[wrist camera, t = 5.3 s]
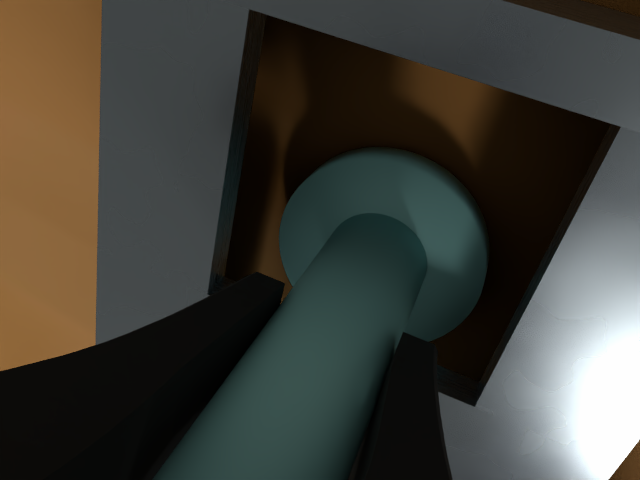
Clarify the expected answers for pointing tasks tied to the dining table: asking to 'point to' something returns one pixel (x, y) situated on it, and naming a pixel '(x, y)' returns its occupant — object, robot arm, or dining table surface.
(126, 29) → the keyhole plate
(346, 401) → the peg
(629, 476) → the dining table surface
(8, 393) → the robot arm
